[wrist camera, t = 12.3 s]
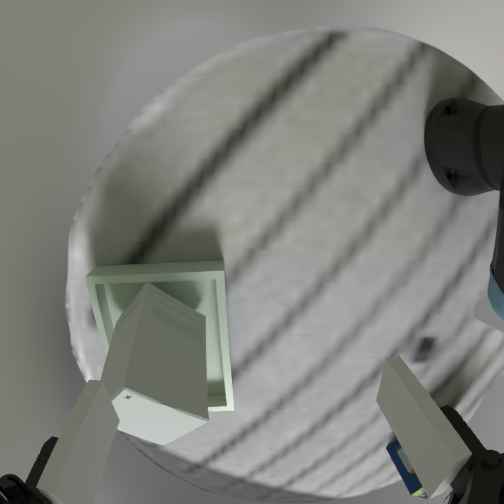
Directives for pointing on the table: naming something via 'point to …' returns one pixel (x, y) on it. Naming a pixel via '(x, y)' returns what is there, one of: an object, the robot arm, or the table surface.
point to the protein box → (406, 470)
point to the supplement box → (158, 367)
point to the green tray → (184, 290)
